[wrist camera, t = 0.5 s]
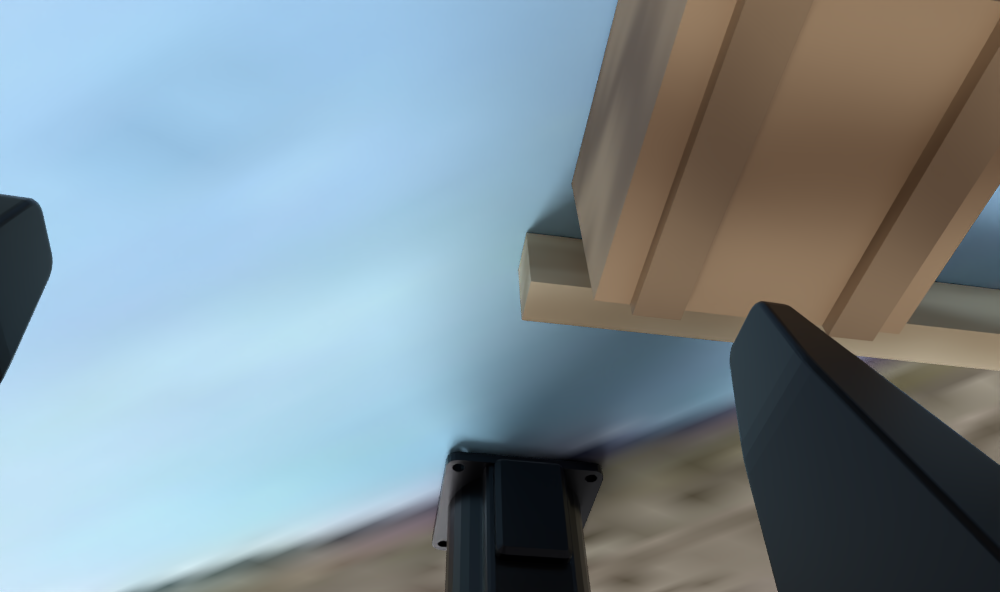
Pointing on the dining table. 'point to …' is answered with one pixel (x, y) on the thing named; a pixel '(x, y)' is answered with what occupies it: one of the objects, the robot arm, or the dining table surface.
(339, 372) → the dining table surface
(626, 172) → the crate
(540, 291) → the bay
